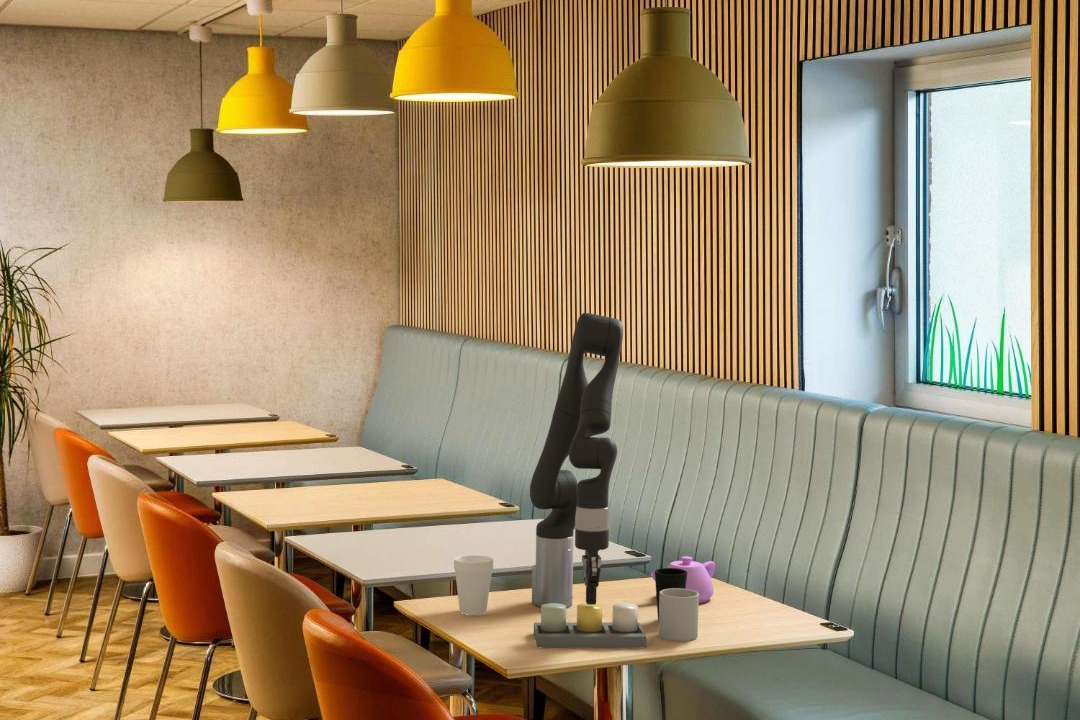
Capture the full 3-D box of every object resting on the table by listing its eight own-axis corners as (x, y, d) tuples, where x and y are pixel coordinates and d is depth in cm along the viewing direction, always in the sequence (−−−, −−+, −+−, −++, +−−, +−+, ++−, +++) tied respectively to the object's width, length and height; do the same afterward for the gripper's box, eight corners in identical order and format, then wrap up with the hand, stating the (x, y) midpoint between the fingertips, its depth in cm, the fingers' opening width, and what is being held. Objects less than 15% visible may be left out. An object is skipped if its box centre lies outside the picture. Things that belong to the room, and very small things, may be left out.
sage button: (541, 631, 302) (542, 609, 302) (540, 625, 307) (540, 603, 307) (567, 631, 302) (567, 609, 302) (564, 625, 308) (565, 603, 308)
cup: (684, 626, 319) (685, 575, 318) (651, 624, 320) (652, 573, 320) (687, 618, 326) (688, 568, 326) (655, 616, 328) (656, 567, 327)
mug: (670, 642, 305) (671, 598, 304) (650, 632, 313) (651, 589, 313) (712, 638, 309) (713, 594, 308) (691, 628, 318) (692, 585, 317)
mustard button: (577, 631, 302) (578, 609, 302) (575, 625, 308) (575, 603, 308) (603, 631, 303) (603, 609, 302) (600, 625, 308) (600, 603, 308)
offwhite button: (613, 631, 303) (614, 609, 303) (610, 625, 308) (611, 603, 308) (639, 631, 303) (639, 609, 303) (635, 625, 309) (636, 603, 309)
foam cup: (483, 618, 323) (484, 564, 322) (447, 615, 326) (448, 561, 325) (497, 609, 332) (498, 556, 331) (462, 606, 335) (463, 553, 334)
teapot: (635, 597, 347) (636, 556, 346) (696, 589, 358) (697, 548, 357) (668, 609, 335) (669, 566, 335) (731, 600, 346) (732, 558, 345)
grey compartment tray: (537, 647, 299) (537, 636, 299) (533, 633, 311) (533, 622, 311) (646, 647, 300) (646, 636, 300) (638, 633, 312) (638, 622, 312)
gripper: (612, 532, 298) (611, 610, 299) (605, 521, 311) (604, 596, 312) (578, 532, 297) (577, 611, 298) (572, 521, 310) (571, 597, 311)
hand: (590, 603), depth 305 cm, fingers closed
